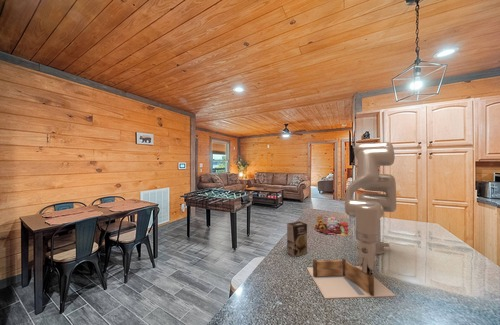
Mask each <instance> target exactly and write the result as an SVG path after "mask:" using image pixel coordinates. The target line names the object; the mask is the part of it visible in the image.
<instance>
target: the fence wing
mask: <svg viewBox="0 0 500 325" xmlns="http://www.w3.org/2000/svg"><path fill="white" fill-rule="evenodd" d="M355 266H356V265H353V264H352V263H350V262H348V261H346V262H345V277H347V278H348V279H350V280H351V281H353V282H354V283H355V284H357V285H358V286H360V287H361V288H363V289H364V290H365V291H367V292H368V293H370V295H371V296H374V277H375V276H374V275H373V274H372V275H369V274H367V273H364V272H363V271H362V270H360V269H359V268H357V267H355Z"/></svg>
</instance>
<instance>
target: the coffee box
mask: <svg viewBox="0 0 500 325" xmlns="http://www.w3.org/2000/svg"><path fill="white" fill-rule="evenodd" d="M286 225H287V226H286V228H287V229H286V230H287V231H286V232H287V233H286V243H287V244H286V248H287V249H286V253H288V254H289V255H290V256H292V257H293V258H296V257H300V256H304V255H307V254H308V223H305V222H302V221H294V222H289V223H286Z"/></svg>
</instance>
